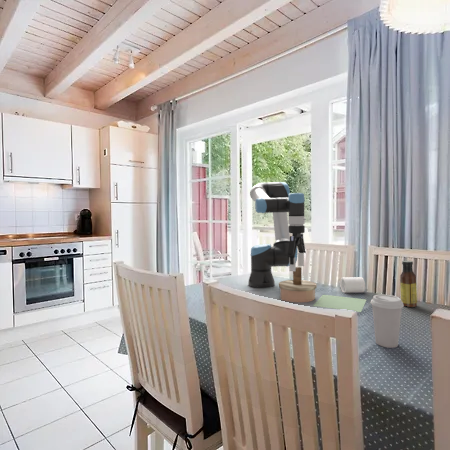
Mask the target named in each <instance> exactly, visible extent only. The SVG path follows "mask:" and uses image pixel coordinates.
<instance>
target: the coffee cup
mask: <svg viewBox="0 0 450 450" xmlns="http://www.w3.org/2000/svg"><path fill="white" fill-rule="evenodd" d="M370 304H371V305H372V316H373V317H372V318H373V328H374V337H375V339H374V340H375V344H377V345H378V346H380V347H382V348H391V349H392V348H394V349H395V348H397V347H398V346H399V342H400V341H399V340H400V330H401V320H402V311H403V308H404V307H405V306H404V305H403V302H402V301H401V297H399V296H396V295H393V294H392V295H391V294H375V295H373V296H372V298H371V300H370Z"/></svg>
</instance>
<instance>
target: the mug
mask: <svg viewBox="0 0 450 450" xmlns="http://www.w3.org/2000/svg"><path fill="white" fill-rule="evenodd" d="M339 286H340V289H341V292H342V293H344V294H347V293H348V294H349V293H350V294H353V293H362V294H363V293H365V290H366V281H365V280H364V278H363V277H362V276H359V277H358V276H356V277H355V276H353V277H352V276H351V277H350V276H348V277H347V276H345V277H343V276H342V277H341V278H340V283H339Z"/></svg>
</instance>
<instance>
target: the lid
mask: <svg viewBox="0 0 450 450" xmlns="http://www.w3.org/2000/svg"><path fill="white" fill-rule="evenodd" d="M278 287H279V288H282V289H285V290H290V291H310V290H314V289H315V290H317V287H318V286H317V283H316V282H313V281H311V280H304V279H302V266H296V271H292V279H286V280H281V281H280V282H278Z"/></svg>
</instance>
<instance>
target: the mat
mask: <svg viewBox="0 0 450 450" xmlns="http://www.w3.org/2000/svg"><path fill="white" fill-rule="evenodd" d="M366 302H367V299H365V298H364V299H363V298H356V297H349V296H348V297H346V296H338V295H332V294H331V295H330V294H322V295H321V296H320V297H319V298H318V299H317V301H316V302H314V304H312V306H313V307H317V308H318V307H319V308H327V309H334V310H340V309H347V310H346V311H348V310H354V311H353V312H355V311H356V312H355V313H357V312H358V313H362V311H363V309H364V307H365V305H366Z"/></svg>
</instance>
